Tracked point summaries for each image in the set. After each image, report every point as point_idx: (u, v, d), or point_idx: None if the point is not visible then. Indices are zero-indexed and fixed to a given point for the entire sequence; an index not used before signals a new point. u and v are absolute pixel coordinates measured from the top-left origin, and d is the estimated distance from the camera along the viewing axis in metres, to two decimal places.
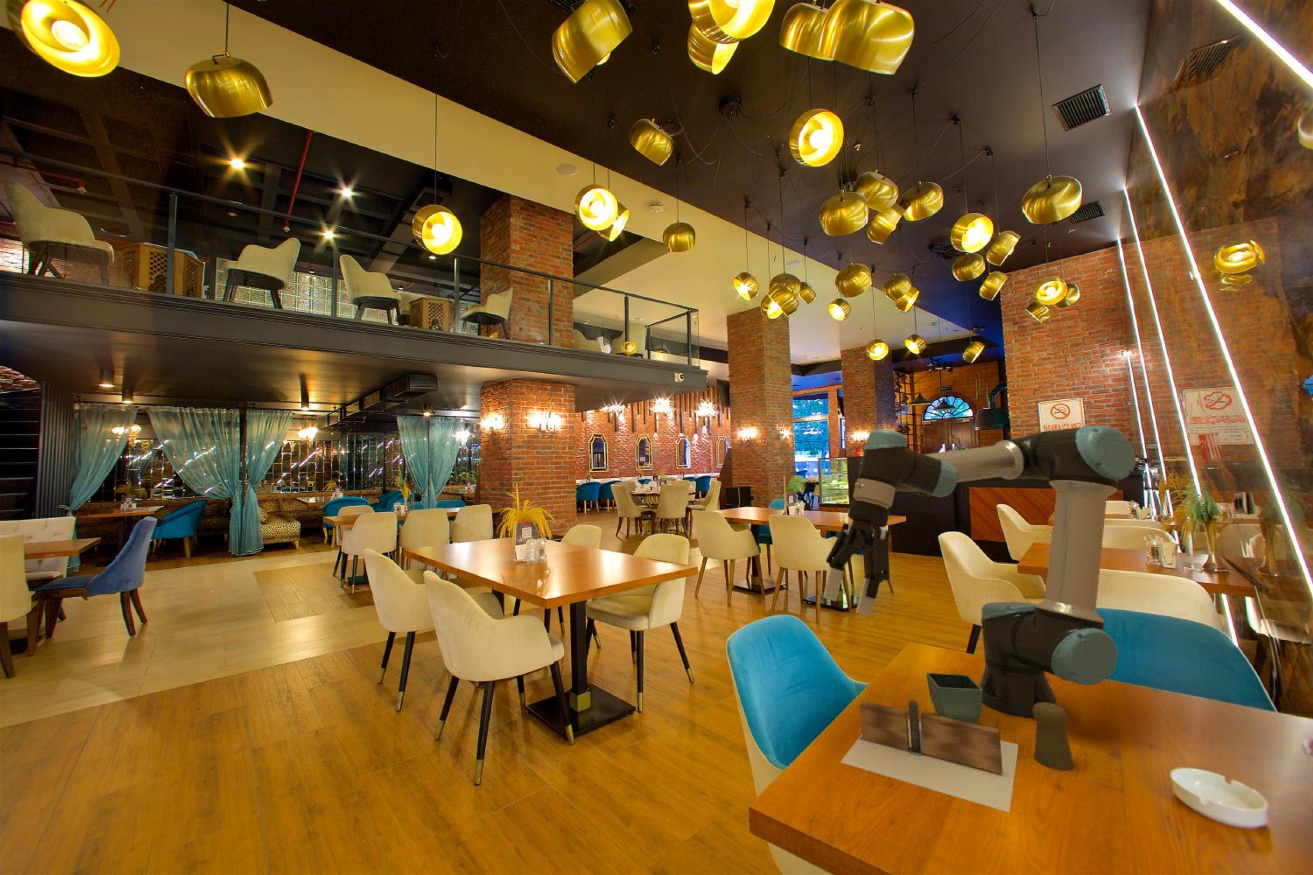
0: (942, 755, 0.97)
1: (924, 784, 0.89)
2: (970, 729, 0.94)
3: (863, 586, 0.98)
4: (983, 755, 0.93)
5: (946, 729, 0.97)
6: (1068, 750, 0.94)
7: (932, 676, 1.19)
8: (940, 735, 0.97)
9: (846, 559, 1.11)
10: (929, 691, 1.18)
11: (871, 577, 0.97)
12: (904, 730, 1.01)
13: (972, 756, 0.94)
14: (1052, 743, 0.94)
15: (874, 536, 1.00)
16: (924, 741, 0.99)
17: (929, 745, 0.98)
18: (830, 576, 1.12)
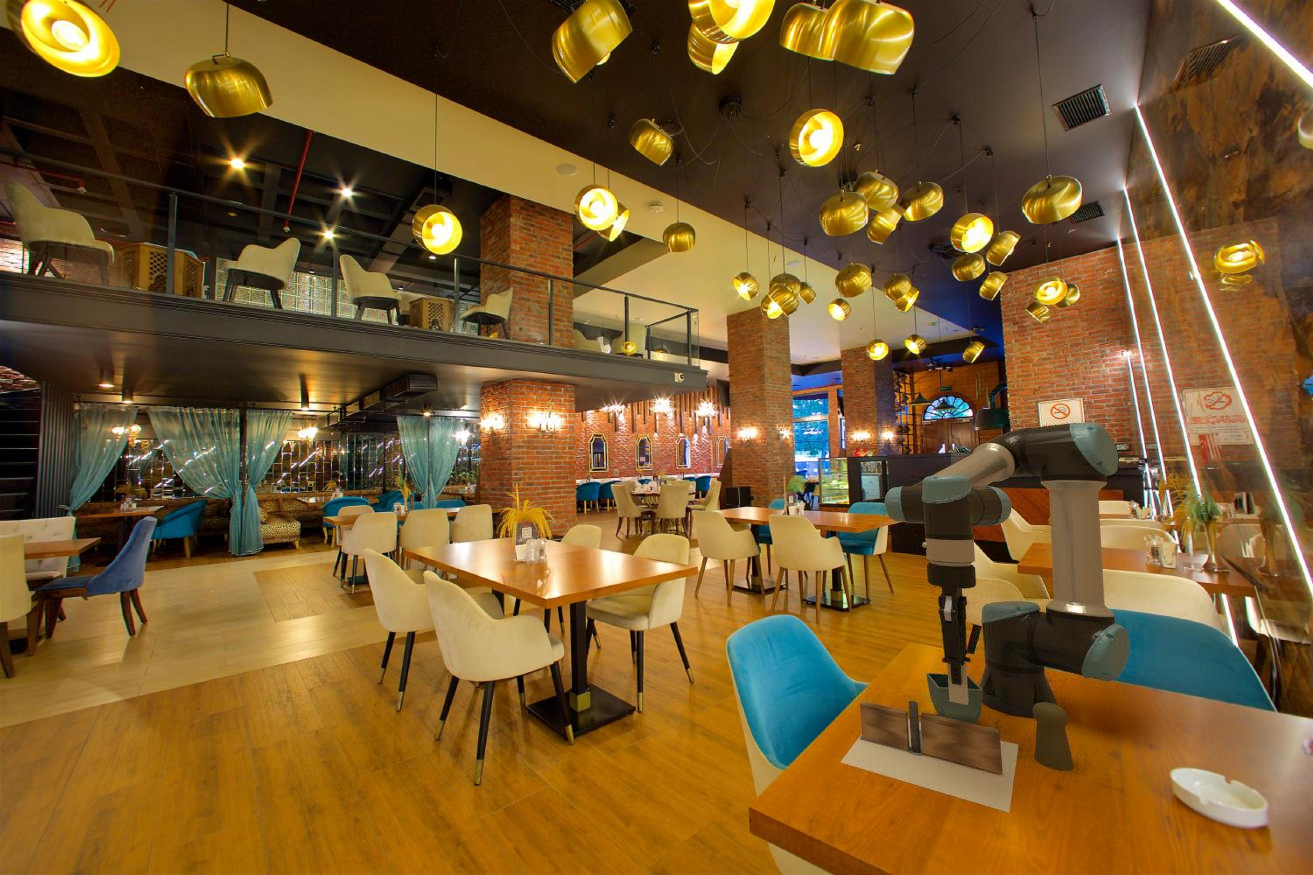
0: (942, 755, 0.97)
1: (924, 784, 0.89)
2: (970, 729, 0.94)
3: (948, 671, 0.92)
4: (983, 755, 0.93)
5: (946, 729, 0.97)
6: (1068, 750, 0.94)
7: (932, 676, 1.19)
8: (940, 735, 0.97)
9: None
10: (929, 691, 1.18)
11: (948, 662, 0.91)
12: (904, 730, 1.01)
13: (972, 756, 0.94)
14: (1052, 743, 0.94)
15: None
16: (924, 741, 0.99)
17: (929, 745, 0.98)
18: None
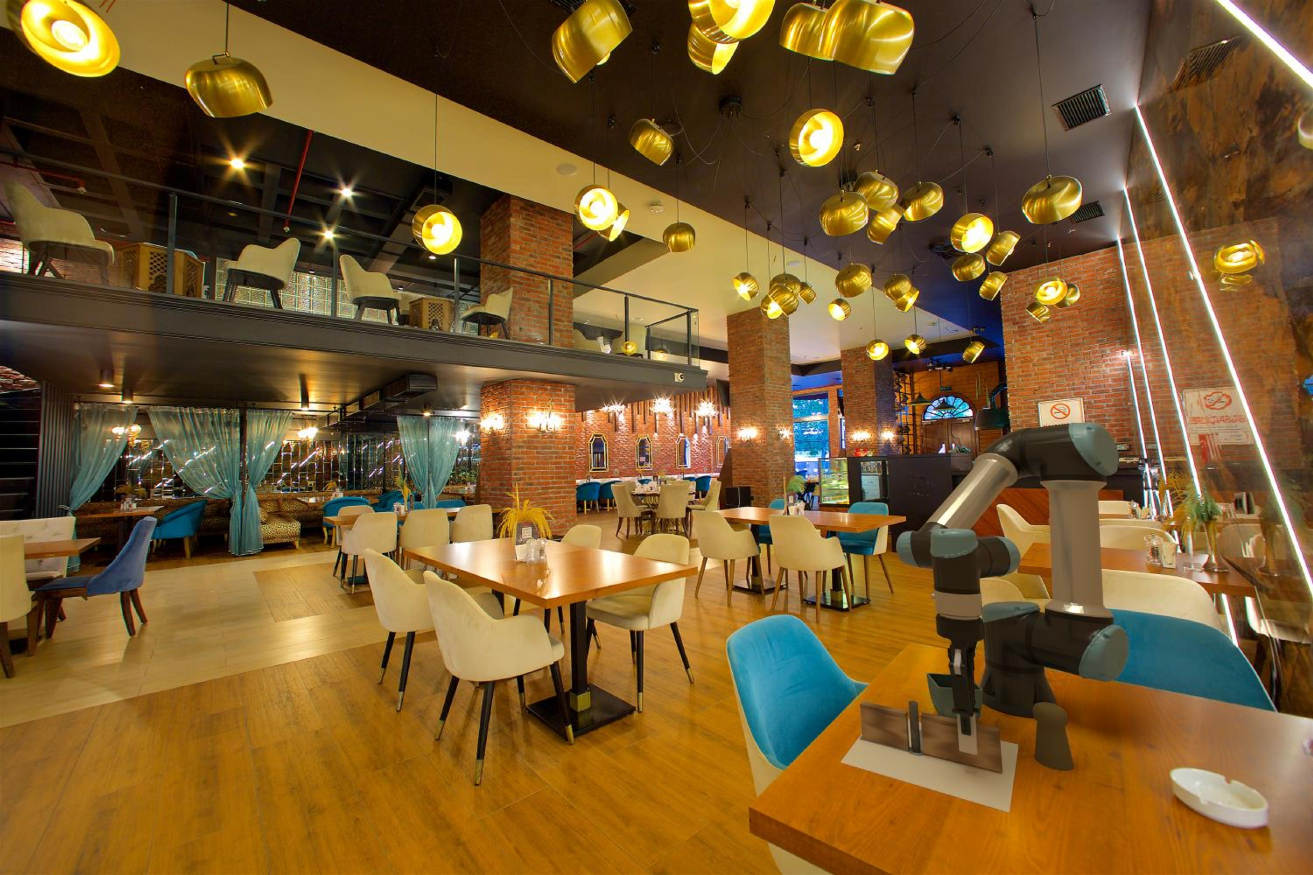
0: (942, 755, 0.97)
1: (924, 784, 0.89)
2: None
3: None
4: (983, 754, 0.94)
5: (946, 729, 0.97)
6: (1068, 750, 0.94)
7: (932, 676, 1.19)
8: (940, 735, 0.97)
9: None
10: (929, 691, 1.18)
11: (957, 713, 0.93)
12: (904, 730, 1.01)
13: (972, 755, 0.94)
14: (1052, 743, 0.94)
15: None
16: (924, 741, 0.99)
17: (929, 745, 0.98)
18: None
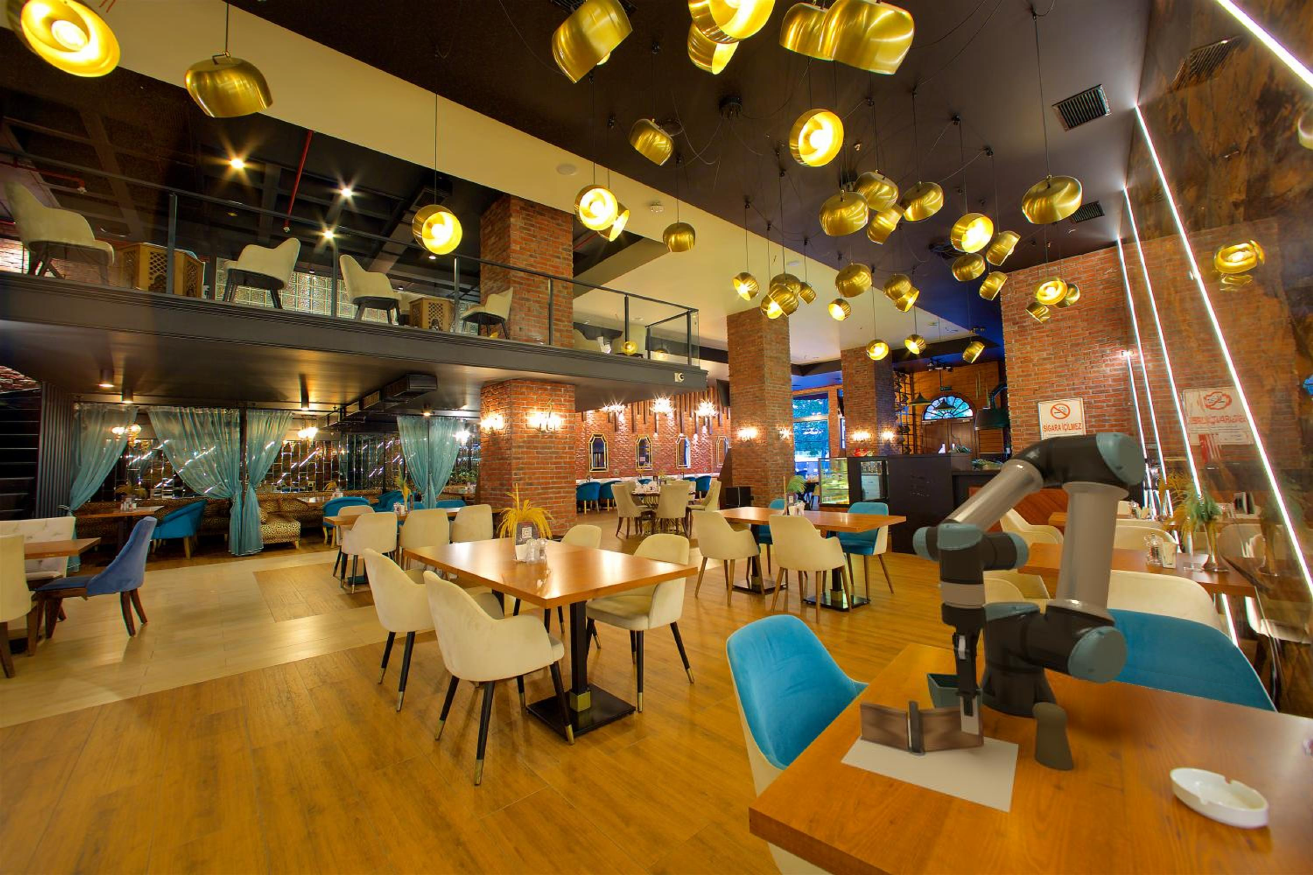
0: (940, 746, 1.00)
1: (924, 784, 0.89)
2: None
3: None
4: (971, 733, 1.01)
5: (943, 719, 1.01)
6: (1068, 750, 0.94)
7: (932, 676, 1.19)
8: (938, 727, 1.01)
9: None
10: (929, 691, 1.18)
11: (960, 696, 1.00)
12: (904, 730, 1.01)
13: (963, 737, 1.01)
14: (1052, 743, 0.94)
15: None
16: (926, 738, 1.00)
17: (930, 740, 1.00)
18: None
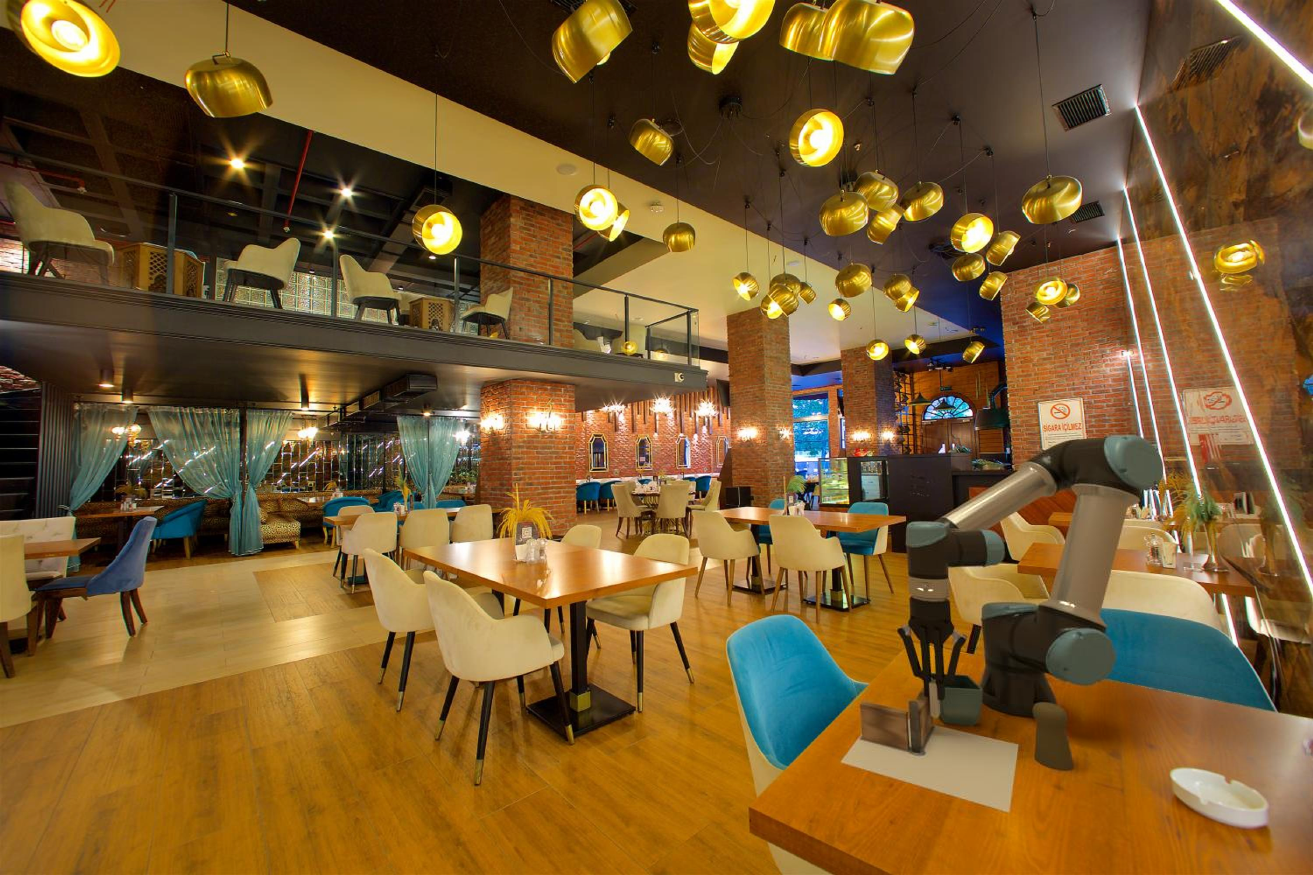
0: (925, 738, 1.04)
1: (924, 784, 0.89)
2: (928, 699, 1.08)
3: (934, 692, 1.06)
4: (930, 716, 1.09)
5: (924, 710, 1.05)
6: (1068, 750, 0.94)
7: (932, 676, 1.19)
8: (923, 719, 1.04)
9: (930, 661, 1.09)
10: None
11: None
12: (904, 730, 1.01)
13: (929, 722, 1.08)
14: (1052, 743, 0.94)
15: (957, 644, 1.05)
16: (921, 734, 1.01)
17: (922, 736, 1.02)
18: (933, 693, 1.07)
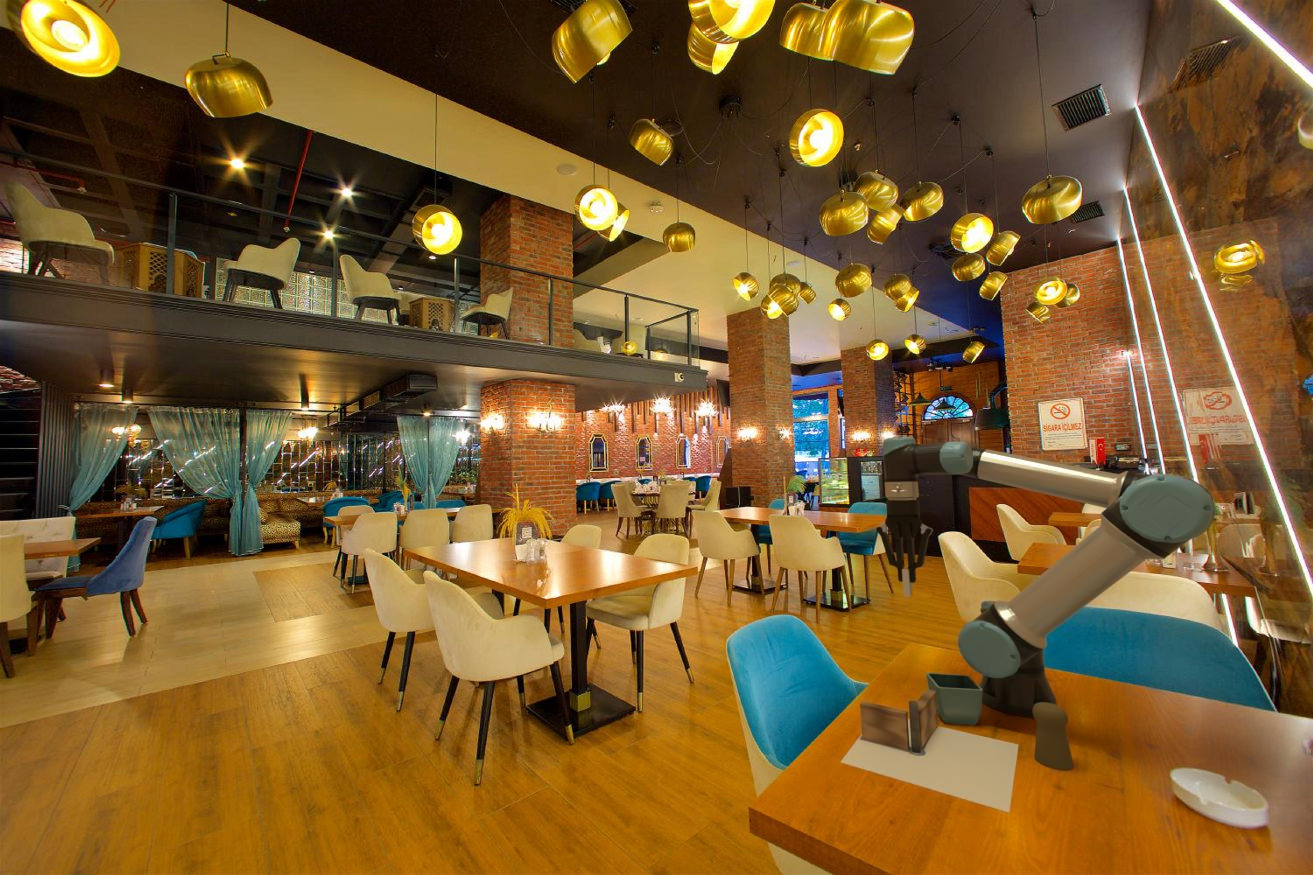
0: (926, 738, 1.03)
1: (924, 784, 0.89)
2: (931, 699, 1.07)
3: (907, 576, 1.28)
4: (934, 717, 1.08)
5: (926, 711, 1.05)
6: (1068, 750, 0.94)
7: (932, 676, 1.19)
8: (925, 720, 1.04)
9: (903, 553, 1.31)
10: None
11: (912, 569, 1.28)
12: (904, 730, 1.01)
13: (932, 723, 1.07)
14: (1052, 743, 0.94)
15: (924, 534, 1.27)
16: (922, 735, 1.01)
17: (923, 736, 1.02)
18: (905, 577, 1.29)
